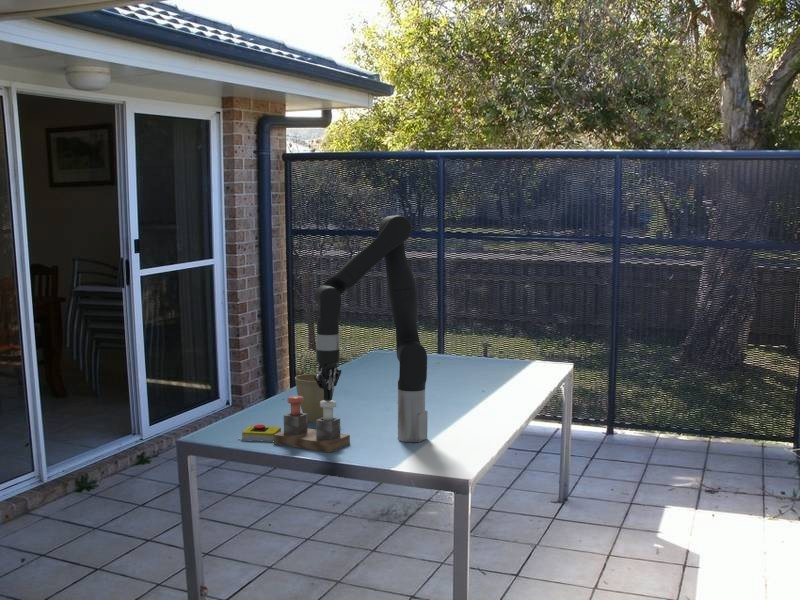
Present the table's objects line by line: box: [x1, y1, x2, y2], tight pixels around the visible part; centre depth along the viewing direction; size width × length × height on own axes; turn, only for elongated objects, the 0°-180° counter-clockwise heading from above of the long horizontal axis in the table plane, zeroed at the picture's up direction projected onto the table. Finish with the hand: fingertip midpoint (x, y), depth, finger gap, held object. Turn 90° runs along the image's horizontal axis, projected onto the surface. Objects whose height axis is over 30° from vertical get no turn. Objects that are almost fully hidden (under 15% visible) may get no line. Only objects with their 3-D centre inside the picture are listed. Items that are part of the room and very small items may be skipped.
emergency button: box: [238, 424, 282, 442], centre depth 274 cm, size 9×4×15 cm
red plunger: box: [287, 395, 303, 416], centre depth 268 cm, size 5×5×7 cm
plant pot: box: [294, 373, 335, 423], centre depth 297 cm, size 15×15×16 cm
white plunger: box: [320, 399, 337, 421], centre depth 262 cm, size 5×5×7 cm
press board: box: [273, 412, 351, 453], centre depth 266 cm, size 22×12×9 cm, turn 61°
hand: (328, 400), depth 262 cm, fingers closed
